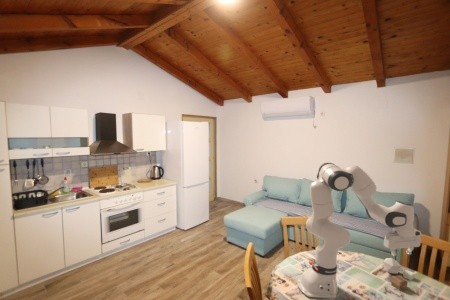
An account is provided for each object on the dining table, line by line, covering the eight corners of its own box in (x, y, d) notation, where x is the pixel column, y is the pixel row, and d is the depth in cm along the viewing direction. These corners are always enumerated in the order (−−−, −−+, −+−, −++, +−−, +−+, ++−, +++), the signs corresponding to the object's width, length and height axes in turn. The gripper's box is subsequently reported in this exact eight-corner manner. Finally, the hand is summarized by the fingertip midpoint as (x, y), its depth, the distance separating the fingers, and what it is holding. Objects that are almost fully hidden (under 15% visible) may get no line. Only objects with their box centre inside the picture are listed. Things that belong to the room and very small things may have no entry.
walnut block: (399, 291, 122) (399, 281, 122) (391, 285, 127) (391, 276, 127) (407, 290, 123) (407, 280, 123) (398, 284, 128) (399, 275, 128)
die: (403, 278, 133) (404, 262, 132) (386, 276, 135) (387, 261, 134) (395, 270, 141) (396, 255, 141) (379, 268, 143) (380, 253, 142)
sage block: (411, 281, 130) (411, 275, 130) (403, 277, 134) (403, 271, 134) (414, 279, 132) (414, 273, 132) (406, 275, 136) (406, 269, 136)
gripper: (391, 234, 118) (389, 259, 119) (424, 232, 121) (422, 256, 122) (381, 229, 124) (380, 253, 125) (412, 227, 127) (411, 250, 128)
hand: (401, 254), depth 124 cm, fingers open, 8 cm apart
